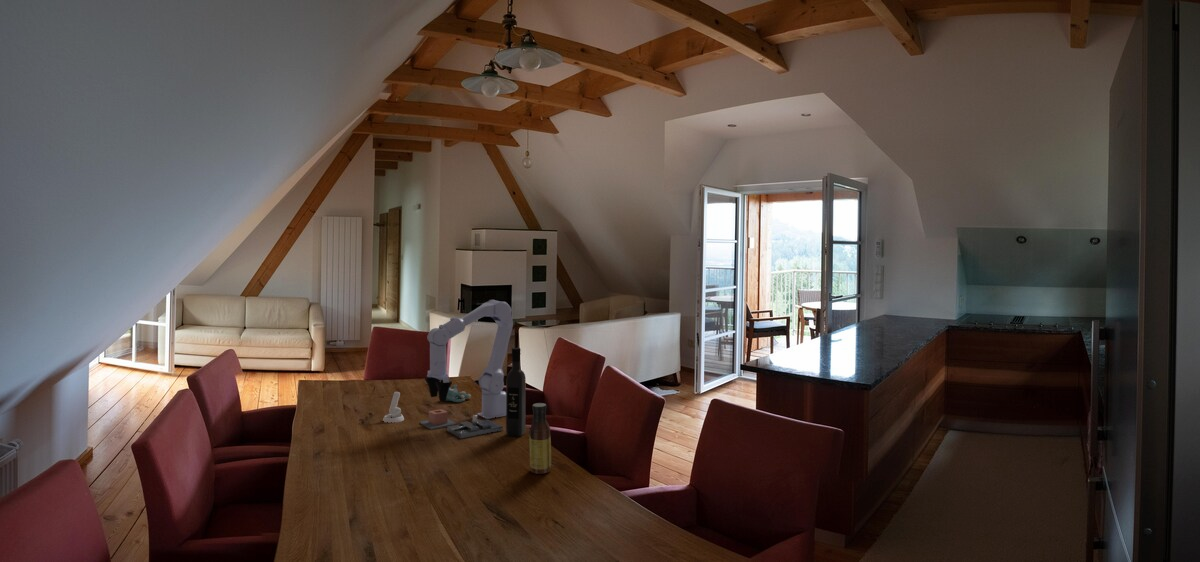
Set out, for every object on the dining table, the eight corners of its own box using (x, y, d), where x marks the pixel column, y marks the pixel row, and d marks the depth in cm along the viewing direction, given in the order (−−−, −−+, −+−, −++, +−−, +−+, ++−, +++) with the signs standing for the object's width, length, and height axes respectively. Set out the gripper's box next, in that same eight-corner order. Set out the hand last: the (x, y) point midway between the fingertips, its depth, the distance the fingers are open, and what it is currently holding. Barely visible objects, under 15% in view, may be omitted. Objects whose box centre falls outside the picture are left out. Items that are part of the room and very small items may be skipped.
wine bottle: (520, 437, 219) (521, 350, 218) (505, 436, 221) (505, 349, 219) (526, 432, 225) (526, 347, 223) (510, 431, 226) (511, 346, 224)
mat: (445, 418, 241) (445, 417, 241) (457, 425, 233) (457, 423, 233) (419, 423, 235) (419, 421, 235) (430, 429, 227) (430, 428, 227)
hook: (409, 400, 247) (410, 393, 242) (402, 430, 241) (402, 424, 235) (389, 396, 246) (389, 390, 240) (381, 426, 239) (381, 420, 234)
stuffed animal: (474, 389, 266) (445, 385, 262) (471, 406, 266) (441, 403, 262) (471, 384, 276) (443, 380, 272) (468, 400, 276) (439, 396, 272)
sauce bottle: (540, 465, 192) (540, 400, 191) (555, 470, 188) (556, 403, 187) (524, 471, 187) (524, 404, 186) (539, 477, 183) (540, 408, 182)
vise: (487, 423, 235) (487, 408, 235) (502, 430, 227) (502, 415, 226) (444, 431, 225) (444, 415, 225) (458, 439, 217) (458, 423, 216)
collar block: (441, 419, 237) (441, 409, 237) (447, 422, 233) (447, 412, 233) (428, 422, 234) (428, 411, 234) (434, 425, 230) (434, 414, 230)
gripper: (419, 359, 236) (419, 396, 236) (435, 366, 224) (436, 404, 225) (437, 357, 240) (437, 393, 241) (454, 363, 228) (454, 401, 229)
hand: (438, 398), depth 233 cm, fingers open, 7 cm apart
